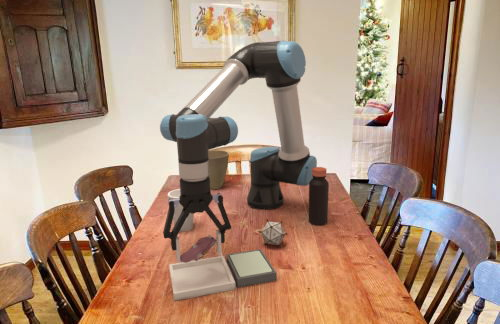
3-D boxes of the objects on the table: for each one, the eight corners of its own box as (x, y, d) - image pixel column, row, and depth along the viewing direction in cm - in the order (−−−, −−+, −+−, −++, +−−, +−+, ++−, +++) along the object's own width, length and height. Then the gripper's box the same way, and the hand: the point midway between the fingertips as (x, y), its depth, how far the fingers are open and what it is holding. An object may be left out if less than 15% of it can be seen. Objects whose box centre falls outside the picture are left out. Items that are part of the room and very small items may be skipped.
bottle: (308, 217, 140) (309, 165, 135) (327, 218, 139) (329, 166, 134) (307, 225, 134) (308, 171, 129) (327, 226, 132) (329, 171, 127)
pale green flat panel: (259, 253, 112) (259, 250, 112) (272, 274, 101) (272, 271, 100) (229, 258, 109) (229, 255, 109) (240, 280, 98) (240, 277, 98)
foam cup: (191, 234, 129) (189, 198, 125) (166, 232, 131) (163, 197, 127) (200, 222, 138) (198, 189, 134) (176, 221, 140) (174, 188, 136)
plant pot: (198, 182, 184) (196, 150, 180) (229, 181, 185) (228, 149, 181) (198, 192, 169) (196, 158, 165) (231, 190, 171) (229, 156, 167)
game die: (278, 252, 123) (296, 228, 122) (271, 255, 115) (290, 230, 114) (257, 235, 125) (274, 211, 124) (249, 237, 118) (268, 212, 117)
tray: (223, 261, 111) (223, 255, 110) (235, 289, 97) (235, 282, 97) (169, 270, 107) (169, 264, 106) (174, 300, 93) (173, 293, 92)
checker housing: (260, 256, 113) (260, 248, 113) (276, 280, 101) (276, 272, 100) (226, 262, 110) (226, 254, 110) (238, 287, 98) (237, 279, 97)
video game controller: (189, 271, 96) (199, 253, 93) (177, 260, 98) (186, 241, 95) (212, 255, 105) (221, 237, 101) (200, 244, 106) (209, 227, 103)
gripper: (234, 169, 101) (237, 244, 106) (147, 177, 95) (154, 257, 100) (242, 176, 94) (244, 257, 99) (148, 186, 88) (156, 271, 93)
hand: (199, 257), depth 100 cm, fingers closed on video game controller, 10 cm apart
